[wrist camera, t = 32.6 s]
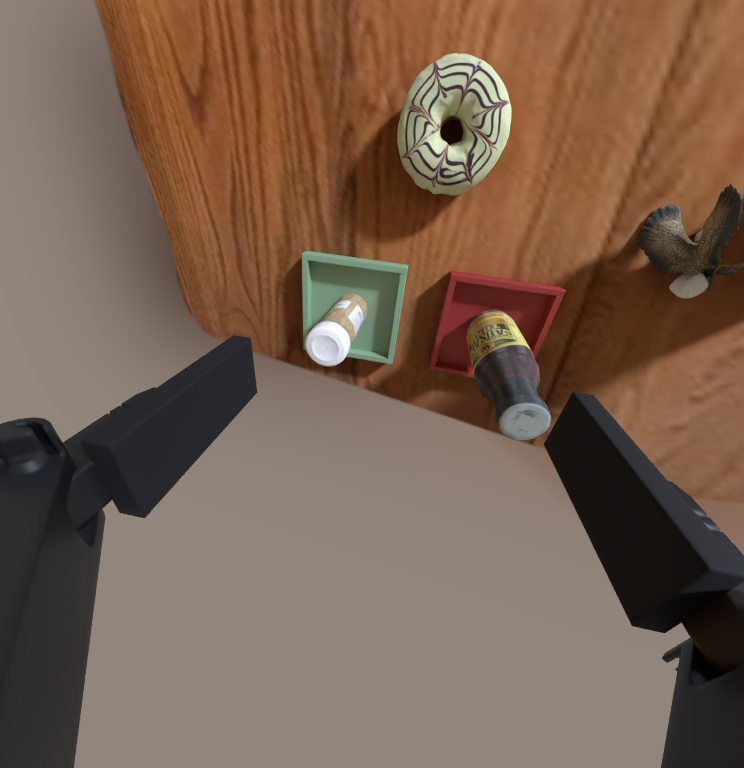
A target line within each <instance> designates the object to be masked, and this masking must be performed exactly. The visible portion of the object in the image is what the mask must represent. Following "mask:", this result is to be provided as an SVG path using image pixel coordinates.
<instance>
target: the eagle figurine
mask: <svg viewBox="0 0 744 768" xmlns="http://www.w3.org/2000/svg"><path fill="white" fill-rule="evenodd" d="M742 201H743V199H742V198H741V195H740V193H739V192H738V189H737V188H734V187H733V185H732V184H730V185H729V187H726V188H725V189H724V192H723V191H722V192H721V194H720V196H719V199H718V201H717V204H716V206H715V208H714V210H713V211H712V213H711V214H710V216H709V217H708V219H707V220H706V223H705V225H704V228H703V229H702V230H701V231H700V232H698V233H697V234H696V236H695V241H694V243H693V242H692V241H691V240H690V239H689V238H688V237H687V235H686V233H685V230H684V227H683V225H682V221H681V215H680V209H679V207H678V206H675V207H672V206H667V207H666V208H664V207H660V208H659V209H658V210H655V211H653V213H652V216H651V217H649V218H648V219H647V221H646V226H643V227H642V232H641V233H640V235H639V236H640V238H639V240H640V245H641V249H642V250H644V252H645V255H647V256H649V257H648V258H649V259H650V261H651V262H653V263H652V265H653V267H654V268H655V269H656V270H659V271H660V272H664V273H667V272H670V273H673V272H676V273H681V275H680V276H679V277H678V278H677V279H676V280H675V281H674V282H673V283H671V285H670V286H669V288H670V290H671V292H673V293H674V294H675V295H676V296H677V297H681V298H683V299H687V298H693V297H695V296H697V295H699V294H701V293H702V292H704V291H705V290H706V289H708V290H712V278H713V275H716V274H722V275H728V276H734V275H736V274H737V271H735V270H737V269H740V268H744V262H743V263H738V264H735V265H728V264H726V265H718V264H720V262H721V259H720V254H721V253H722V250H723V249H724V248H725V247H726V245H727V243H728V240H729V239H731V238H732V235H733V234H734V233H735V232H737V230H738V229H739V225H740V224H741V222H739V220H740V219H741V216H740V215H741V214H742V211H741V210H742Z"/></svg>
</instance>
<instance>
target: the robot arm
mask: <svg viewBox="0 0 744 768" xmlns="http://www.w3.org/2000/svg"><path fill="white" fill-rule="evenodd" d="M256 393H257V387H256V379H255V370H254V362H253V354H252V345H251V338H246V337H240V336H234V335H233V336H232V337H230V338H229V339H228V340H226V341H225V342H223V343H222V344H220V345H219V346H217V347H216V348H215V349H213V350H211V351H210V352H209V353H207V354H206V355H204V356H203V357H201V358H200V359H198V360H197V361H195V362H194V363H193V364H191V365H190V366H188V367H187V368H185V369H184V370H182V371H181V372H179V373H178V374H176V375H175V376H174V377H172V378H171V379H169V380H168V381H166V382H165V383H163V384H162V385H161V386H159V387H158V388H151V389H149V390H146V391H144V392H141V393H139V394H136V395H135V396H133V397H132V398H130V399H128V400H127V401H125V402H124V403H122V406H118V407H116V408H115V409H113V410H112V411H110V414H106V415H104V416H103V417H101V418H100V419H98V420H97V421H95V422H94V423H92V424H91V425H89V426H87V427H86V428H84V429H83V430H81V431H80V432H78V433H77V434H75V435H74V436H72V437H71V438H69V439H68V440H66V441H65V442H63V443H62V441H61V439H60V438H59V436H58V434H57V433H56V431H55V429H54V428H53V426H52V424H51V423H50V422H49V421H47V420H45V419H42V418H25V419H18V420H14V421H9V422H6V423H2V424H0V768H74V761H75V753H76V745H77V737H78V729H79V721H80V714H81V706H82V698H83V690H84V681H85V674H86V666H87V658H88V650H89V642H90V634H91V626H92V619H93V610H94V602H95V595H96V587H97V586H96V585H97V579H98V571H99V562H100V555H101V547H102V539H103V531H104V523H105V515H104V511H103V510H102V509H103V507H105V506H106V505H107V504H108V503H109V502H110V501H111V500H113V502H114V503H115V505H116V507H117V509H118V511H119V512H120V513H123V514H128V515H133V516H137V517H142V518H145V517H146V516H147V515H148V514H149V513H150V512H151V510H152V509H153V508H154V507H155V506H156V505H157V504H158V503H159V502H160V500H161V499H162V498H163V497H164V496H165V495H166V494H167V493H168V491H169V490H170V489H171V488H172V487H173V486H174V485H175V484H176V483H177V481H178V480H179V479H180V478H181V477H182V476H183V475H184V474H185V472H186V471H187V470H188V469H189V468H190V467H191V466H192V465H193V464H194V462H195V461H196V460H197V459H198V458H199V457H200V456H201V455H202V453H203V452H204V451H205V450H206V449H207V448H208V447H209V446H210V445H211V443H212V442H213V441H214V440H215V439H216V438H217V437H218V436H219V434H220V433H221V432H222V431H223V430H224V429H225V428H226V427H227V425H228V424H229V423H230V422H231V421H232V420H233V419H234V418H235V417H236V416H237V414H238V413H239V412H240V411H241V410H242V409H243V408H244V406H245V405H246V404H247V403H248V402H249V401H250V400H251V399H252V398H253V396H254V395H255V394H256ZM544 446H545V448H546V450H547V452H548V454H549V456H550V458H551V460H552V462H553V464H554V466H555V468H556V470H557V472H558V474H559V477H560V478H561V481H562V483H563V485H564V487H565V489H566V491H567V493H568V495H569V497H570V499H571V501H572V503H573V505H574V507H575V509H576V511H577V513H578V516H579V518H580V520H581V522H582V524H583V526H584V528H585V530H586V532H587V534H588V536H589V538H590V540H591V542H592V545H593V547H594V549H595V551H596V553H597V555H598V557H599V559H600V561H601V563H602V565H603V567H604V569H605V571H606V573H607V575H608V577H609V579H610V582H611V584H612V586H613V588H614V590H615V592H616V594H617V596H618V598H619V600H620V602H621V604H622V606H623V608H624V610H625V612H626V615H627V617H628V619H629V621H630V623H631V625H632V626H635V627H639V628H643V629H648V630H652V631H657V632H662V633H666V632H667V631H669V630H670V629H672V628H673V627H675V626H677V625H678V624H680V623H681V622H682V624H683V625H684V627H685V629H686V630H687V632H688V634H689V635H690V637H691V638H689V639H688V640H686V641H684V642H682V643H681V644H679V645H677V646H676V647H674V648H672V649H671V650H669V651H667V652H666V653H665V654H664V656H663V657H662V659H663V660H664V661H666V662H667V663H668V662H670V661H672V660H673V659H675V658H680V659H679V665H678V668H676V670H677V677H676V684H675V689H674V695H673V701H672V707H671V713H670V718H669V724H668V730H667V737H666V742H665V748H664V754H663V759H662V765H661V768H744V555H743V554H742V553H741V552H740V551H739V550H738V548H737V547H736V546H735V545H734V544H733V543H732V542H731V541H730V540H729V539H728V537H727V536H726V535H725V534H724V533H723V532H720V531H719V527H718V526H717V525H716V524H715V523H714V522H713V521H712V520H711V518H709V517H707V516H706V513H705V512H704V511H703V510H702V509H701V508H700V506H699V505H698V504H697V503H696V502H695V501H694V500H693V498H692V497H690V496H689V495H688V494H687V493H685V492H684V491H683V490H681V489H680V488H679V487H678V486H676V485H675V484H674V483H672V482H670V481H667V480H666V479H665V477H664V476H663V475H662V474H661V473H660V472H659V470H658V469H657V468H656V467H655V466H654V465H653V464H652V462H651V461H650V460H649V459H648V458H647V457H646V455H645V454H644V453H643V452H642V451H641V450H640V449H639V447H638V446H637V445H636V444H635V443H634V442H633V440H632V439H631V438H630V437H629V436H628V435H627V434H626V432H625V431H624V430H623V429H622V428H621V427H620V425H619V424H618V423H617V422H616V421H615V420H614V419H613V417H612V416H611V415H610V414H609V413H608V412H607V410H606V409H605V408H604V407H603V406H602V405H601V404H600V402H599V401H598V400H597V399H596V398H595V397H594V395H589V394H583V393H577V392H572V394H571V396H570V398H569V400H568V401H567V403H566V405H565V407H564V409H563V410H562V412H561V414H560V416H559V418H558V419H557V421H556V423H555V425H554V427H553V429H552V430H551V432H550V434H549V436H548V438H547V439H546V441H545V443H544Z"/></svg>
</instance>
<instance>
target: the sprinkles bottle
mask: <svg viewBox="0 0 744 768" xmlns="http://www.w3.org/2000/svg"><path fill="white" fill-rule="evenodd" d="M367 311H368V310H367V305H366V303H365V301H364V300H363V299H362V298H361V297H360V296H359V295H356V294H346V295H344V296H342V297H341V298H340V299H339V300H338V302H337V304H335V305H334V307H333V308H332V309H331V310H330V311H329V313H328V314H327V315H326V316H325V317H324V318H323V320H322V321H321V322H320V323H318V324H317V325H315V326H314V327H313V328H312V330H311V331H310V332H309V333H308V335H307V337H306V341H305V347H306V350H307V353H308V355H309V356H310V357H311V358H312V359H313V360H314V361H315V362H316V363H318V364H320V365H323V366H335V365H338V364H339V363H341V362H342V361H343V360H344V358H345V357H346V355H347V354H348V352H349V349H350V344H351V343H352V342H353V340H354V338H355V336H356V335H357V333H358V331H359V329H360V327H361V325H362V322H363V321H364V320H365V318H366V316H367Z"/></svg>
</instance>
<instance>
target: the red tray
mask: <svg viewBox="0 0 744 768" xmlns="http://www.w3.org/2000/svg"><path fill="white" fill-rule="evenodd" d="M565 291H566V290H564V289H563V288H561V287H560V286H554V285H547V284H539V283H532V282H525V281H518V280H511V279H504V278H497V277H490V276H483V275H475V274H468V273H461V272H454V271H450V274H449V279H448V283H447V287H446V292H445V296H444V300H443V304H442V309H441V313H440V317H439V322H438V326H437V330H436V335H435V339H434V343H433V347H432V352H431V356H430V360H429V370H430V371H436V372H442V373H448V374H454V375H460V376H466V377H472V378H475V377H474V373H473V368H472V363H471V358H470V353H469V348H468V344H467V338H466V337H467V329H468V327H469V324H470V323H471V321H472V320H473V318H474V317H475V316H476V315H478V314H479V313H481V312H484V311H488V310H500V311H502V312H505V313H506V314H508V315H509V316H510V317H511V318H512V319H513V321H514V322H515V324H516V326H517V327H518V329H519V331H520V332H521V334H522V336H523V337H524V339H525V341H526V342H527V344H528V346H529V348H530V350H531V351H532V353H533V355H534V359H536V357H537V355H538V353H539V350H540V348H541V346H542V344H543V341H544V339H545V337H546V335H547V332H548V330H549V328H550V326H551V323H552V321H553V319H554V317H555V314H556V312H557V310H558V308H559V305H560V303H561V301H562V298H563V296H564V294H565Z"/></svg>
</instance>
